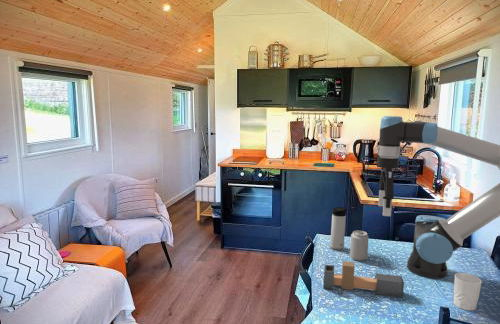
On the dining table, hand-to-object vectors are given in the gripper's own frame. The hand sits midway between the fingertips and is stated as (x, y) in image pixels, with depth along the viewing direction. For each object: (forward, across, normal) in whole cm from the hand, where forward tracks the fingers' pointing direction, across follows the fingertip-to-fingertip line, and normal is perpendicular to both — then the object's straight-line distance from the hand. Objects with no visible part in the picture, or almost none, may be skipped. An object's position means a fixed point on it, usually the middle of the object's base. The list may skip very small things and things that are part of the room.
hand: (384, 210), depth 140 cm
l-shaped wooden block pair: (+26, +14, -11) cm, 32 cm away
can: (+27, -15, -7) cm, 32 cm away
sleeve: (+27, +14, +2) cm, 30 cm away
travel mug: (+27, -24, -16) cm, 39 cm away
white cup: (+27, +16, +26) cm, 41 cm away
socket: (+27, +14, -20) cm, 36 cm away
